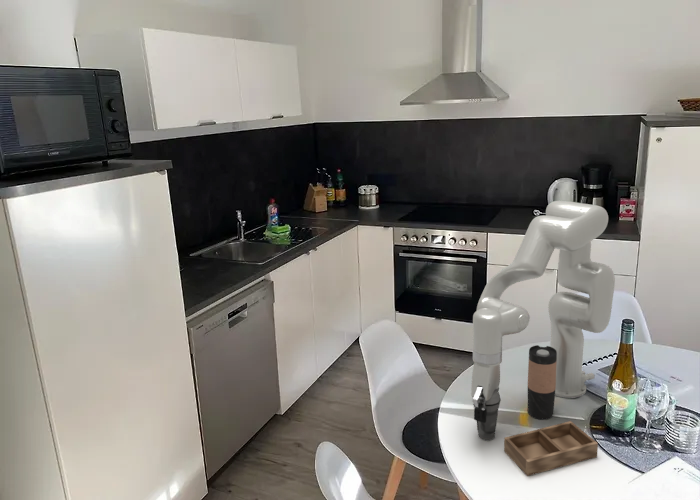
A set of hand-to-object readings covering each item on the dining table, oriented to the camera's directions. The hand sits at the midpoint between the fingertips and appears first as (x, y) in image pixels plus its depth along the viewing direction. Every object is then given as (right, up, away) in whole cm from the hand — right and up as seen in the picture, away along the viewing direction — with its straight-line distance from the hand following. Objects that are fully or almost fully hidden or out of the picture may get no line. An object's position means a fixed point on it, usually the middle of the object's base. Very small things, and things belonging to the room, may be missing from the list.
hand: (486, 412), depth 152 cm
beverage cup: (+1, -7, +2) cm, 8 cm away
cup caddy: (+15, -9, -7) cm, 19 cm away
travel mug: (+19, -4, +11) cm, 22 cm away
